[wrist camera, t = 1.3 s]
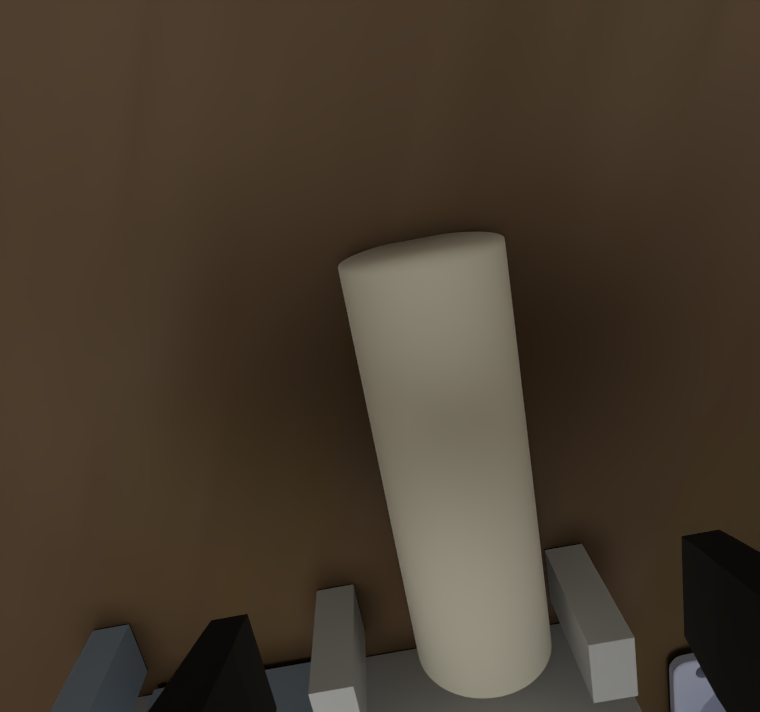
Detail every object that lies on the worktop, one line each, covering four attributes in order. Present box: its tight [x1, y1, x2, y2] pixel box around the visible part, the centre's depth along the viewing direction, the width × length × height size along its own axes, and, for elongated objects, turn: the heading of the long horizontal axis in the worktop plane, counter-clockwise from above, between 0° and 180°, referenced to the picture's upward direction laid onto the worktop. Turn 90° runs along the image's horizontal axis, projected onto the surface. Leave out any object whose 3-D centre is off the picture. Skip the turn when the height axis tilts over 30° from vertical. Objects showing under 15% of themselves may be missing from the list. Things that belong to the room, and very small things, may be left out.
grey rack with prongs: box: [50, 544, 642, 712], centre depth 19 cm, size 16×4×5 cm, turn 100°
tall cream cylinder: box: [338, 232, 552, 699], centre depth 17 cm, size 12×4×4 cm, turn 10°
